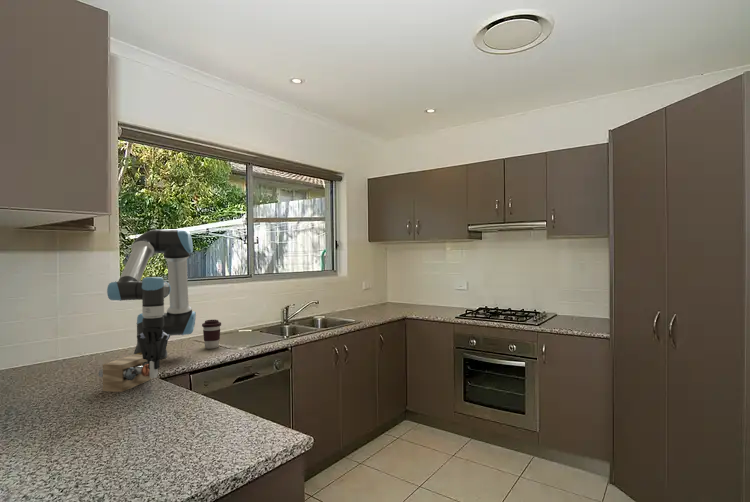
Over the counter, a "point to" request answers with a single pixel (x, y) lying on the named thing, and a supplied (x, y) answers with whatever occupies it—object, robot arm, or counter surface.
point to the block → (115, 374)
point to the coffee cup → (211, 333)
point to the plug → (127, 374)
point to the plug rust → (142, 370)
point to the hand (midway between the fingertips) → (153, 377)
